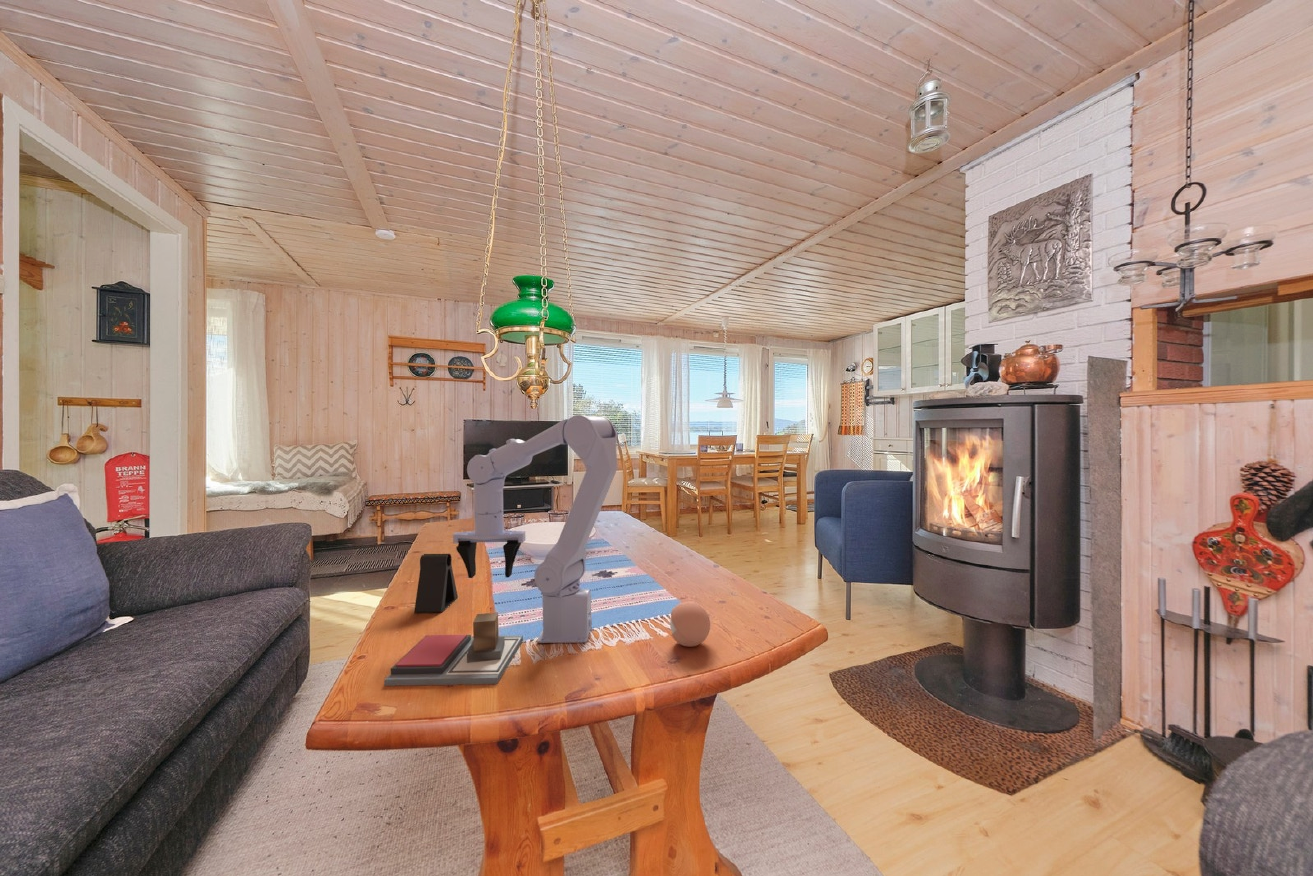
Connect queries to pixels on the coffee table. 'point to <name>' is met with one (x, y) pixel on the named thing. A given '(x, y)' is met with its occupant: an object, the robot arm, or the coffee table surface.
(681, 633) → the toy ball
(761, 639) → the coffee table surface
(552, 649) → the coffee table surface
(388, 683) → the stamp board
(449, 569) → the phone stand
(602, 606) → the coffee table surface
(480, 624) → the stamp
